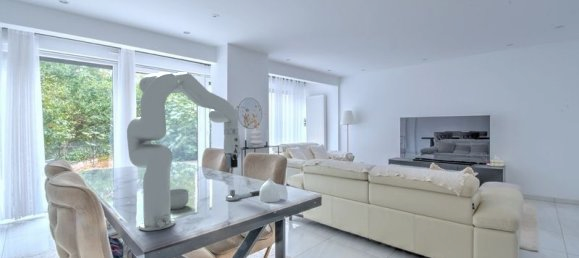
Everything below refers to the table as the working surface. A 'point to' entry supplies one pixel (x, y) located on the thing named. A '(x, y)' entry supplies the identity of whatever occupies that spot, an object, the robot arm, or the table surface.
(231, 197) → the ratchet
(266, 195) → the teardrop
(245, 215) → the table surface
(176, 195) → the teacup
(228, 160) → the socket
